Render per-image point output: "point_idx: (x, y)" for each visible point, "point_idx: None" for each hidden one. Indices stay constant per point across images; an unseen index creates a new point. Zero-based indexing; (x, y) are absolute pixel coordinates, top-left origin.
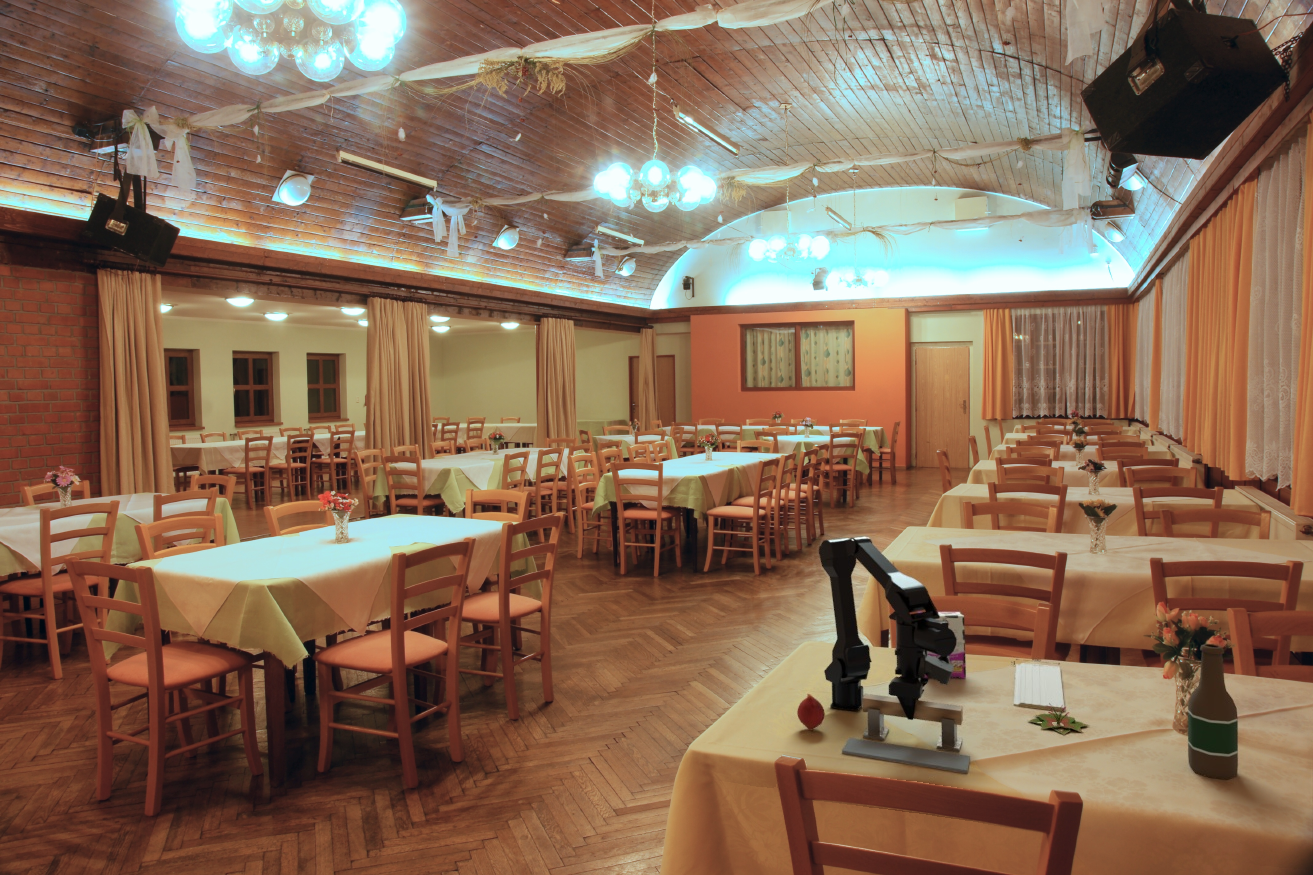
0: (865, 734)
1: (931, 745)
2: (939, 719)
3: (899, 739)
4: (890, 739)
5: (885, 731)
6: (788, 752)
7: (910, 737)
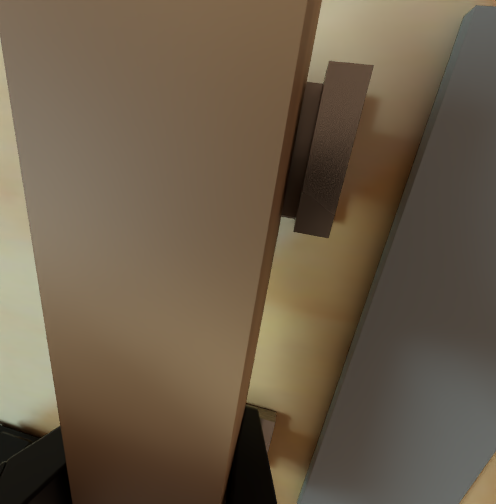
0: None
1: (288, 242)
2: (274, 243)
3: None
4: (259, 390)
5: None
6: None
7: None
